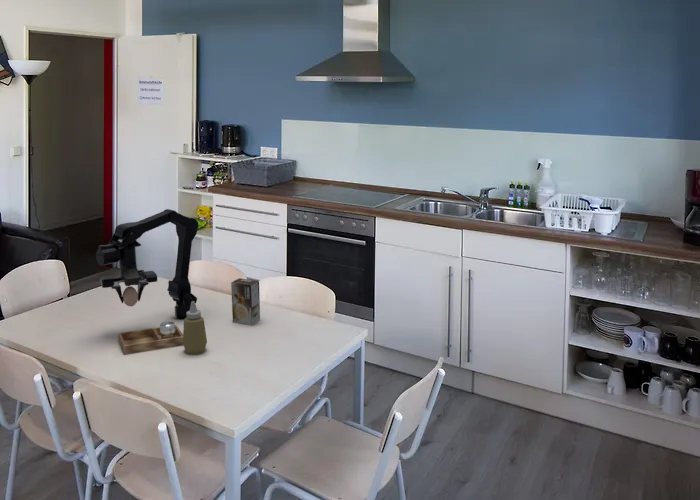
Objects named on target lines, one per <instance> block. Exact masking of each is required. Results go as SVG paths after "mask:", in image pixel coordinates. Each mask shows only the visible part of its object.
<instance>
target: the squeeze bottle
mask: <svg viewBox="0 0 700 500" xmlns="http://www.w3.org/2000/svg"><path fill="white" fill-rule="evenodd" d="M201 313H202V312H201V310H198V308H197V305H196V303H195V301H192V302H191V306H190V311H188V312H187V317H186V318H185V319H183V331H182V332H183V333H182V334H183V345H182V346H183V347H184V350H185V353H187V354H189V355H199V354H202V353H204V351H206V347H207V343H208V340H207V331H206V327H205V326H206V325H205V320H204V319H205V318H204V317H202V314H201Z"/></svg>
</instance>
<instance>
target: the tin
mask: <svg viewBox="0 0 700 500" xmlns="http://www.w3.org/2000/svg"><path fill="white" fill-rule="evenodd" d="M175 325H176V323H175V322H174V321H163V322H161V323H160V324H159V327H160V334H161V340H162V339H168V338H175V337H176V331H175Z"/></svg>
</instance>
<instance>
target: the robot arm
mask: <svg viewBox="0 0 700 500" xmlns="http://www.w3.org/2000/svg"><path fill="white" fill-rule="evenodd" d="M168 223H171V224H173V225H175V232H176V236H177V238H178V244H177V254H176V255H177V256H176V262H175V264H176V265H175V272H174V277H173V278H172V280H168V283H167V284H168V287H167V291H168V295H169V296H170V297H171V298H172V300H173V302H175V305H174V317H175V318H176V319H177V320H184V319H185V318H186V317H187V312H188V311H190V306H191V302H192V301H195V304H196V303H197V301H198V297H196V296H195V295H194V294H193V293H192V291H191V290H192V285H191V282H190V279H189V273H190V271H189V270H190V262H191V254H192V247H193V246H192V245H193V241H194V239H195V238H196V236H197V234H198V230H199V225H200V224H199V221H198V220H197V219H196V218H194V217H190V216H187V215H183V214H181V213H179V212H178V211H176V210H173V209H169V208H167V209H164V210H162V211H161V212H158V213H155V214H153V215H150V216H148V217H145V218H143V219H141V220H138V221H135V222H134V221H133V222H132V221H131V222H126V223H125V222H124V223H120V224H118V225H117V226H116V227H115V229H114V233H113V235H112V236H111V238H110V240H109V241H108V243H107V244H100V245H98V246H97V247H98V249H97V250H96V252H95V253H96V254H95V260H96V262H97V264H98V265H99V266H106V265H110V264H112V265H113V264H116V263H117V264H118V262H119V277H113V275H112V274H110V275H103V276H101V277H100V278H99V281H100V286H101V287H102V288H103V289H104V288H105V289H106V288H107V289H108V288H111V289H114V290H115V291H116V293H117V294H118V295H117V296H118V297H119V300H120V302H121V304H123V303H124V302H123V291H122V286H121V285H120V284H121V283H124V286H125V287H129V286H137V293H138V301H137V302H140V301H141V298H142V295H143V291H144V289H145V287H146V286H148V285H149V284H150V283H156V282H158V274H157V273H156V272H155V271H154V270H146V271H145V269H139V270H138V267H137V265H138V264H137V253H136V248H137V247H142V244H141V243H140V242H138V239H140V238H141V236H143V234H145V233H147V232H149V231H152V230H154V229H156V228H159V227H161V226H163V225H166V224H168Z"/></svg>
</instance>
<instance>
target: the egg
mask: <svg viewBox="0 0 700 500" xmlns="http://www.w3.org/2000/svg"><path fill="white" fill-rule="evenodd" d="M122 297H123V303H124V304H125V305H126V306H128V307H134V306H135V305H136V304H137V302H139V301H138V290H137V289H136V288H135V287H133V286H132V285H130V286H126V287H125V289H124V290H123V291H122Z"/></svg>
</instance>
